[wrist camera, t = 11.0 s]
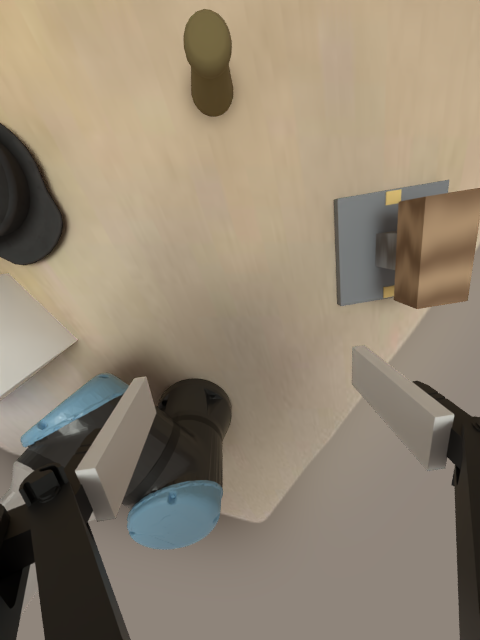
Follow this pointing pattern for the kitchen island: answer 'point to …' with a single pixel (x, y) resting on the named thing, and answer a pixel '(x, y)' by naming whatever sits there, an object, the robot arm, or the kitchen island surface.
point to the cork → (209, 61)
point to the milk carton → (26, 335)
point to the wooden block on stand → (432, 248)
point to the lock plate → (369, 240)
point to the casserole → (24, 205)
